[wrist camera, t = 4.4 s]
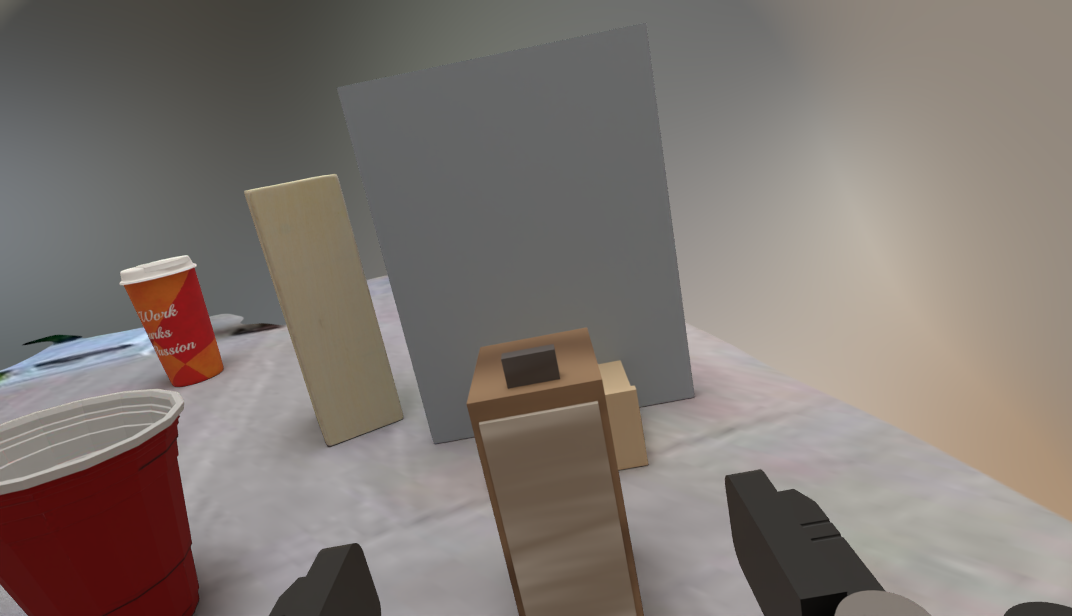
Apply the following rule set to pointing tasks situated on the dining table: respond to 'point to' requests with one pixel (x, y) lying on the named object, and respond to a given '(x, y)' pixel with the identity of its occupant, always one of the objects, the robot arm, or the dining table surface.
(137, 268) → the coffee cup
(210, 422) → the dining table surface
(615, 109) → the wall board
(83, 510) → the plastic cup
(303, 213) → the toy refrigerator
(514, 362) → the walnut cabinet
